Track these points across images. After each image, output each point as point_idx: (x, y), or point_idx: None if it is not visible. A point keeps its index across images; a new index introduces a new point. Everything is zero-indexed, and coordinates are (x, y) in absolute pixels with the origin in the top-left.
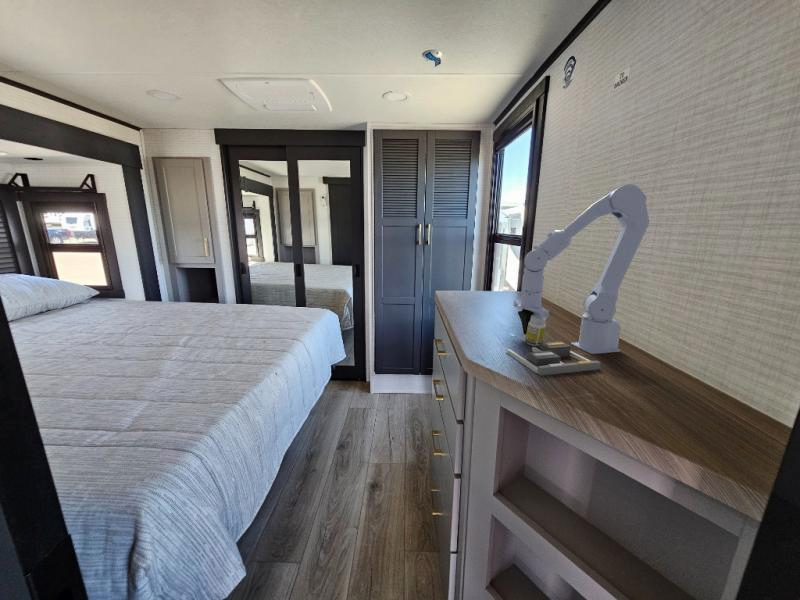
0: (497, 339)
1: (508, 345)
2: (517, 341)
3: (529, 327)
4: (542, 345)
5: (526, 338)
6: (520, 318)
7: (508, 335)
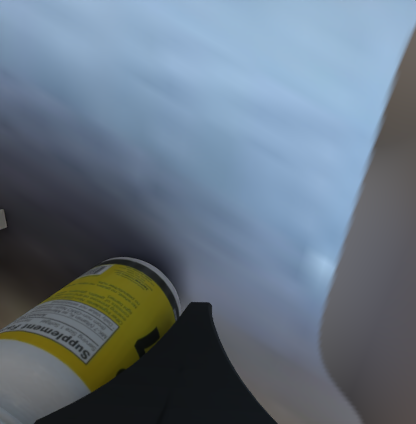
0: (263, 91)
1: (121, 110)
2: (192, 224)
3: (33, 327)
4: None
5: (122, 269)
6: (236, 385)
7: (331, 233)
